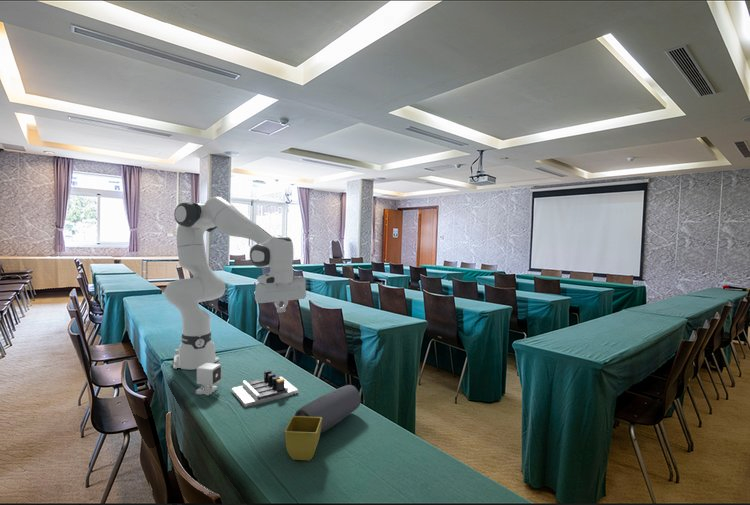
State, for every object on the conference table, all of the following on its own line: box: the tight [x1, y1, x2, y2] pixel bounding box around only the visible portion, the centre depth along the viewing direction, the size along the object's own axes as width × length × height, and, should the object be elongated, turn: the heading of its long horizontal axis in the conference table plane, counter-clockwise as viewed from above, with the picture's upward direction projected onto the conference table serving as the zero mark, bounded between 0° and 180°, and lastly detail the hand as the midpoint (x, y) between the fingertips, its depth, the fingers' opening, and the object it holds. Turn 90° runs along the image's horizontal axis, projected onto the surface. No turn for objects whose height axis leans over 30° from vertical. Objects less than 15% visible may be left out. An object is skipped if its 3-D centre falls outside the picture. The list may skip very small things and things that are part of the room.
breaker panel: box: [231, 369, 299, 408], centre depth 143 cm, size 15×20×6 cm
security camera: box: [195, 363, 223, 396], centre depth 143 cm, size 6×7×10 cm
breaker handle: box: [276, 377, 286, 391], centre depth 140 cm, size 2×2×4 cm
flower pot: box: [284, 415, 322, 461], centre depth 105 cm, size 9×9×9 cm
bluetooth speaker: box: [294, 384, 362, 433], centre depth 121 cm, size 23×9×10 cm, turn 145°
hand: (281, 312), depth 150 cm, fingers closed
